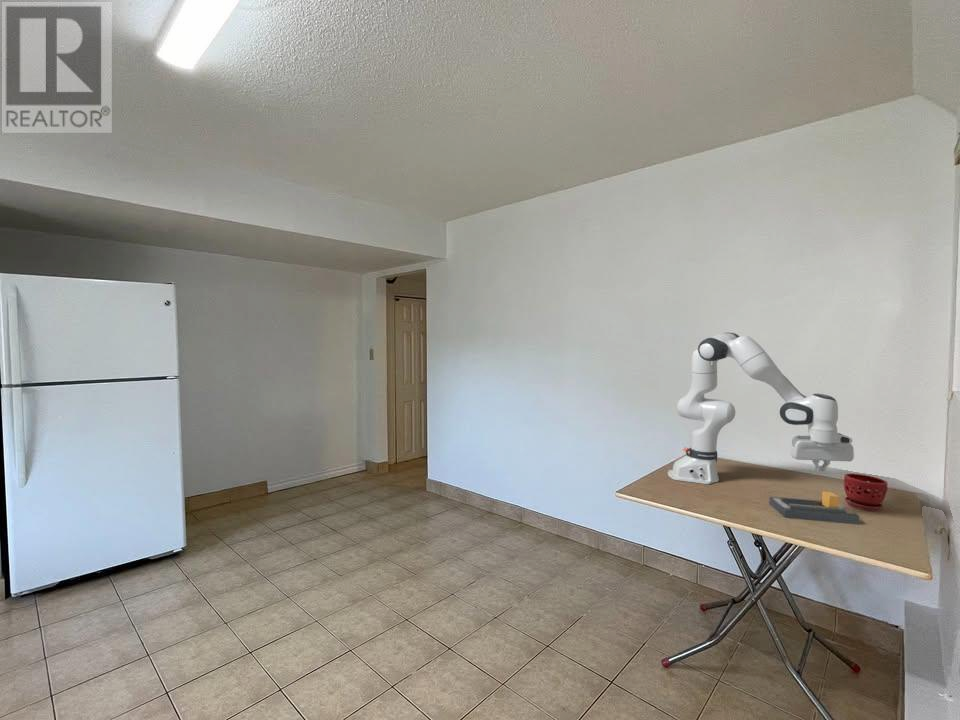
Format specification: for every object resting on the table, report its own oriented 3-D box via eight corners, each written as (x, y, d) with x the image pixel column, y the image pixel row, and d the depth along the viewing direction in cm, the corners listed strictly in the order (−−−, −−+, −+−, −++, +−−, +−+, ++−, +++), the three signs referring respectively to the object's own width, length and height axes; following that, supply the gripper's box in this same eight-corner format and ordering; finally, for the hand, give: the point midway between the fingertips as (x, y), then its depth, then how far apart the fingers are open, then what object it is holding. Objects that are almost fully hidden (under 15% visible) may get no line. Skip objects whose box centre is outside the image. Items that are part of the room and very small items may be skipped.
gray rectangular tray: (784, 517, 164) (785, 506, 164) (769, 503, 178) (769, 493, 178) (858, 524, 159) (859, 513, 159) (836, 509, 173) (837, 499, 172)
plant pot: (881, 515, 167) (882, 485, 167) (838, 504, 178) (839, 476, 177) (889, 508, 175) (891, 479, 174) (848, 498, 186) (849, 470, 185)
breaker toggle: (829, 508, 165) (829, 496, 165) (821, 504, 170) (822, 491, 170) (838, 509, 164) (838, 496, 164) (830, 504, 169) (831, 492, 169)
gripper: (796, 437, 166) (795, 472, 167) (857, 439, 163) (855, 475, 164) (788, 433, 172) (786, 467, 174) (846, 435, 169) (844, 469, 170)
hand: (820, 471), depth 169 cm, fingers closed
